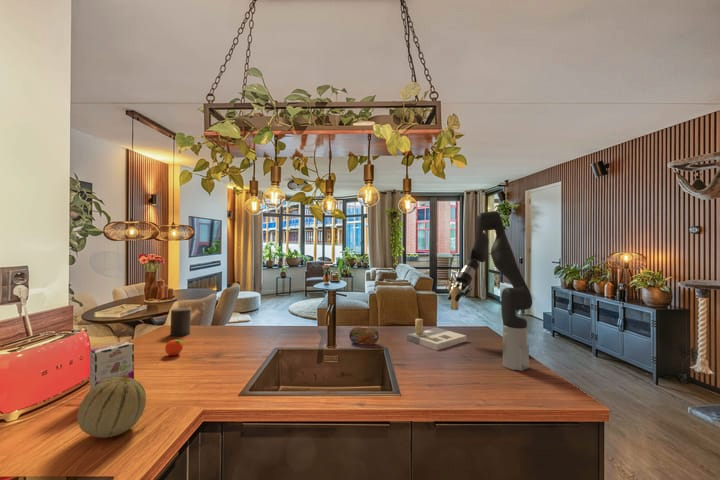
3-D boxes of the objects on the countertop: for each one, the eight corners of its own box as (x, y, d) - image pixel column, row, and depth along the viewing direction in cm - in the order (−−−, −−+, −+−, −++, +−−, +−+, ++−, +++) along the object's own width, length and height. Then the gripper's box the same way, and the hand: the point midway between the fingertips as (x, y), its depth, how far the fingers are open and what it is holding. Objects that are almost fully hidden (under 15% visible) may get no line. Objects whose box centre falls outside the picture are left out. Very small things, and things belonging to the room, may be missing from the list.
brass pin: (460, 309, 175) (460, 286, 175) (455, 310, 172) (455, 287, 172) (453, 308, 178) (453, 286, 178) (449, 309, 175) (449, 286, 175)
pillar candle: (176, 337, 175) (177, 309, 175) (166, 334, 180) (167, 307, 180) (194, 333, 183) (194, 306, 183) (183, 330, 188) (184, 304, 188)
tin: (349, 343, 167) (349, 327, 167) (350, 341, 171) (350, 325, 171) (378, 345, 165) (378, 328, 165) (379, 343, 168) (379, 327, 168)
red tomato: (188, 353, 151) (188, 337, 151) (178, 358, 144) (178, 342, 144) (171, 352, 152) (172, 336, 152) (161, 357, 145) (161, 341, 145)
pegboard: (466, 341, 173) (466, 320, 173) (436, 350, 158) (437, 327, 158) (436, 332, 189) (436, 313, 189) (406, 340, 174) (407, 319, 174)
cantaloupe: (63, 442, 84) (64, 384, 84) (123, 414, 98) (123, 364, 98) (101, 456, 79) (102, 394, 79) (158, 424, 92) (159, 371, 92)
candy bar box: (127, 387, 115) (128, 340, 116) (134, 390, 113) (135, 343, 113) (88, 400, 106) (89, 349, 106) (94, 404, 103) (95, 352, 103)
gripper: (452, 270, 185) (438, 293, 178) (474, 272, 174) (460, 297, 166) (458, 279, 188) (444, 302, 181) (480, 281, 177) (466, 306, 170)
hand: (452, 299), depth 174 cm, fingers closed on brass pin, 4 cm apart
